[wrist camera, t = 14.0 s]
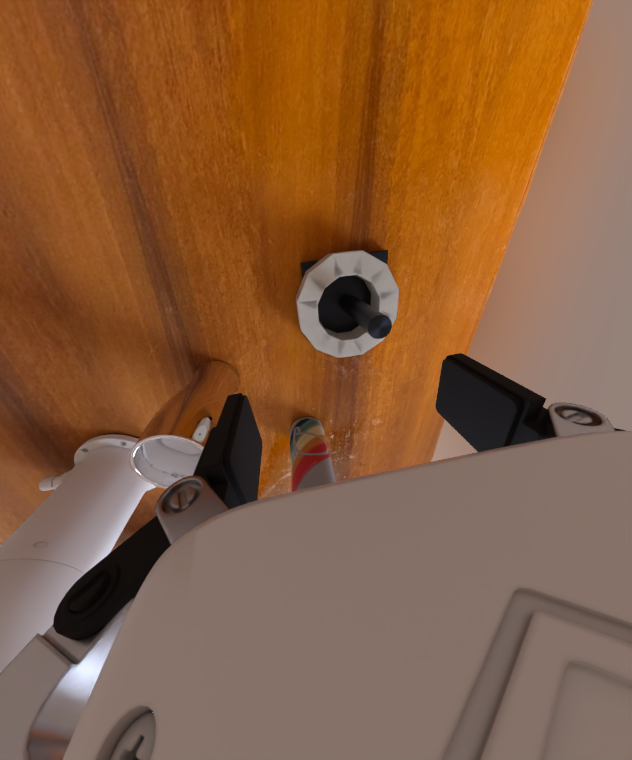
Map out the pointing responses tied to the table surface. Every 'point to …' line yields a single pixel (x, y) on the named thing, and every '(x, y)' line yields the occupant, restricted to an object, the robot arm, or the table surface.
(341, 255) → the tape roll
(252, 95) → the table surface
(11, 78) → the table surface
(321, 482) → the lotion bottle
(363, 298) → the post
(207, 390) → the beer glass
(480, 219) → the table surface
